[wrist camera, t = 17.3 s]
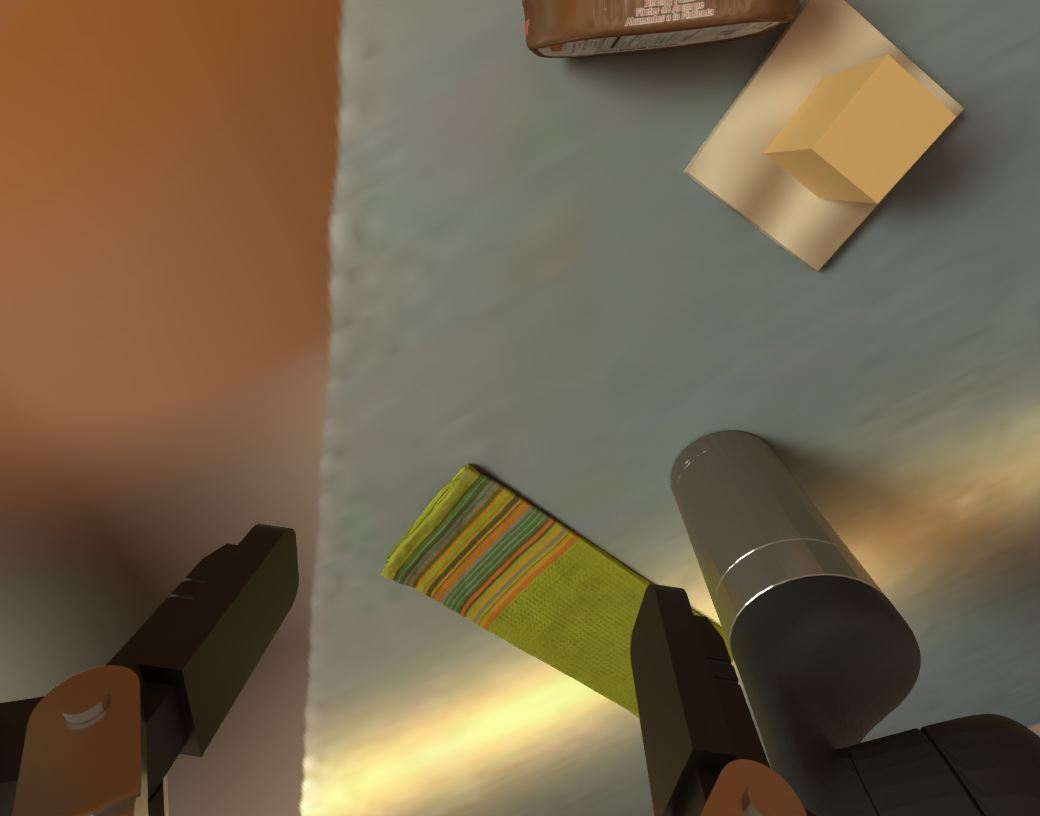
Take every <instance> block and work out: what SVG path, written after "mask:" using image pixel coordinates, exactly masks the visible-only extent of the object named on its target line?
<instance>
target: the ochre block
mask: <svg viewBox="0 0 1040 816" xmlns="http://www.w3.org/2000/svg"><path fill="white" fill-rule="evenodd" d="M955 118H956V116H955V115H954V114H953V113H952V112H951V111H950V110H949V109H948V108H946V107H945V106H944V105H943V104H942V103H941V102H940V101H939V100H938V99H937V98H935V97H934V96H933V95H932V94H931V93H930V92H929V91H928V90H927V89H926V88H925V87H923V86H922V85H921V84H920V83H919V82H918V81H917V80H916V79H915V78H914V77H912V76H911V75H910V74H909V73H908V72H907V71H906V70H905V69H904V68H903V67H901V66H900V65H899V64H898V63H897V62H896V61H895V60H894V59H893V58H892V57H890V56H889V55H885V56H882V57H879V58H877V59H874V60H871V61H868V62H865V63H863V64H860V65H857V66H854V67H851V68H849V69H846V70H843V71H840V72H837V73H835V74H832V75H829V76H826V77H823V78H821V80H820V81H819V82H818V84H817V85H816V86H815V87H814V89H813V90H812V91H811V93H810V94H809V95H808V96H807V98H806V99H805V100H804V102H803V103H802V104H801V105H800V107H799V108H798V109H797V111H796V112H795V113H794V114H793V116H792V117H791V118H790V120H789V121H788V122H787V124H786V125H785V126H784V127H783V129H782V130H781V131H780V133H779V134H778V135H777V136H776V138H775V139H774V140H773V142H772V143H771V144H770V145H769V147H768V148H767V149H766V151H765V152H764V154H765V155H766V156H767V157H769V158H770V159H771V160H772V161H774V162H775V163H776V164H777V165H778V166H780V167H781V168H782V169H783V170H785V171H786V172H787V173H788V174H790V175H791V176H792V177H793V178H795V179H796V180H797V181H798V182H799V183H801V184H802V185H803V186H804V187H806V188H807V189H808V190H809V191H811V192H812V193H813V194H814V195H816V196H817V197H818V198H823V199H833V200H844V201H854V202H864V203H875V204H878V203H879V202H880V201H881V200H882V198H883V197H884V196H885V195H886V194H887V193H888V192H889V191H890V190H891V189H892V187H893V186H894V185H895V184H896V183H897V182H898V181H899V180H900V179H901V177H902V176H903V175H904V174H905V173H906V172H907V171H908V170H909V169H910V168H911V166H912V165H913V164H914V163H915V162H916V161H917V160H918V159H919V158H920V156H921V155H922V154H923V153H924V152H925V151H926V150H927V149H928V148H929V147H930V145H931V144H932V143H933V142H934V141H935V140H936V139H937V138H938V137H939V135H940V134H941V133H942V132H943V131H944V130H945V129H946V128H947V127H948V126H949V124H950V123H951V122H952V121H953V120H954V119H955Z"/></svg>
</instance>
